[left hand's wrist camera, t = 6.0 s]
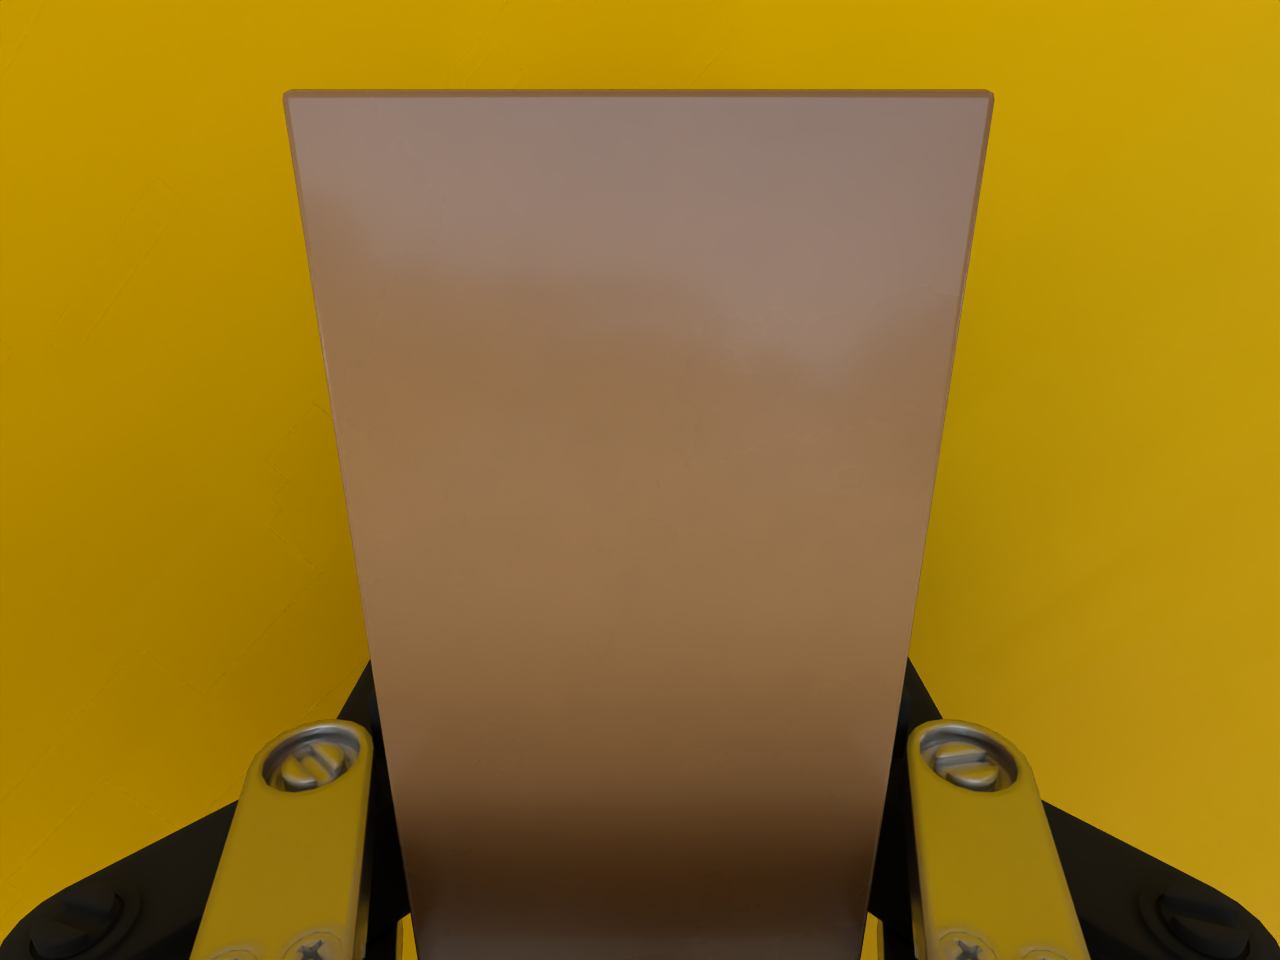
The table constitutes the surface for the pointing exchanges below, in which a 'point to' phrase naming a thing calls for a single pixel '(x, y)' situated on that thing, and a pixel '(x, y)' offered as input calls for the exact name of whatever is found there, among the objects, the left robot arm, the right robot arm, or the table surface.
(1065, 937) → the left robot arm
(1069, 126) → the table surface
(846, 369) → the post
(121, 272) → the table surface
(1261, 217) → the table surface
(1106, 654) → the table surface
